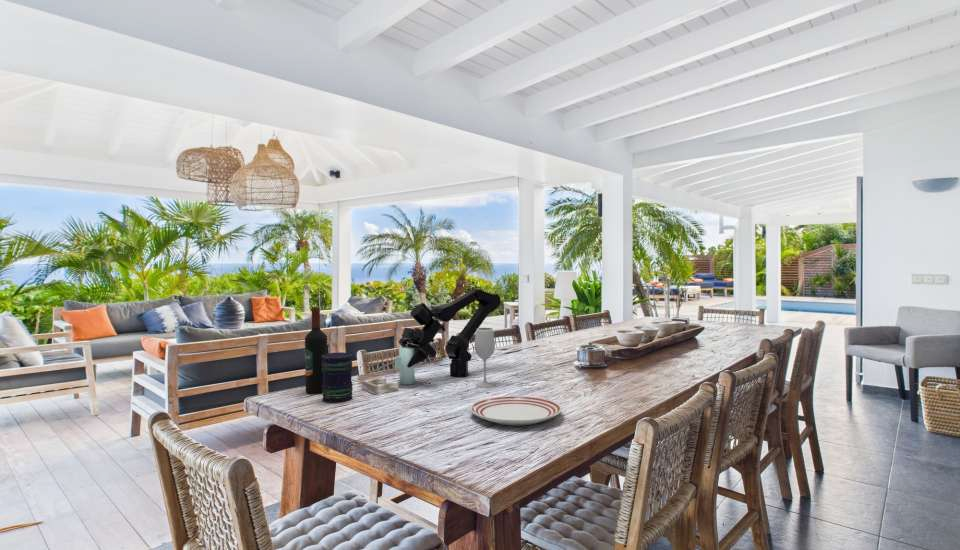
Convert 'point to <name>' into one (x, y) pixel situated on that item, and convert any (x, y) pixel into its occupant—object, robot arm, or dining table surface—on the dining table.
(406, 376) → the pale green rounded piece
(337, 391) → the storage jar
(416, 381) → the grey flat disc
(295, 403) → the dining table surface
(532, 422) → the dinner plate
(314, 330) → the wine bottle
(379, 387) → the frame
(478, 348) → the wineglass
